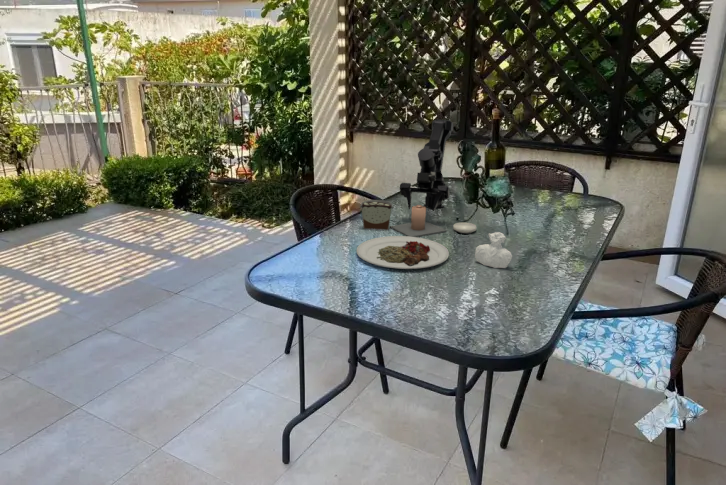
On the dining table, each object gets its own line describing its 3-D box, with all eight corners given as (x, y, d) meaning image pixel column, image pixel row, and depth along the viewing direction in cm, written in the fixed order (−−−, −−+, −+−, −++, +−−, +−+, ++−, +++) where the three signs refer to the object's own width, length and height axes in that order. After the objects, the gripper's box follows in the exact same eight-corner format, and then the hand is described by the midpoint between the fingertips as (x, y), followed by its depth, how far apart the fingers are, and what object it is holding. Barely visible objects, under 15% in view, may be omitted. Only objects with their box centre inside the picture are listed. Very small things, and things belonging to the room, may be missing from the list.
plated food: (341, 264, 165) (341, 254, 164) (375, 236, 192) (375, 227, 191) (435, 279, 155) (436, 269, 154) (457, 247, 181) (458, 238, 180)
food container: (393, 225, 204) (394, 200, 201) (392, 230, 198) (393, 204, 195) (361, 224, 205) (361, 198, 202) (359, 228, 199) (360, 203, 196)
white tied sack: (510, 275, 164) (522, 242, 166) (504, 267, 158) (516, 233, 160) (475, 266, 171) (487, 234, 173) (467, 257, 165) (480, 225, 167)
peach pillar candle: (423, 226, 201) (425, 203, 198) (425, 230, 196) (426, 207, 194) (410, 226, 201) (411, 203, 198) (411, 230, 196) (412, 207, 193)
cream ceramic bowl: (466, 226, 204) (466, 221, 203) (480, 232, 197) (481, 227, 196) (448, 229, 200) (448, 224, 199) (462, 235, 193) (463, 230, 193)
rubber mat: (424, 222, 208) (424, 220, 208) (446, 231, 197) (446, 230, 197) (389, 227, 201) (389, 226, 201) (410, 238, 190) (410, 236, 189)
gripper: (401, 162, 203) (394, 197, 197) (450, 165, 198) (444, 201, 192) (404, 177, 213) (398, 211, 207) (451, 180, 208) (446, 215, 202)
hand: (421, 209), depth 202 cm, fingers open, 9 cm apart
